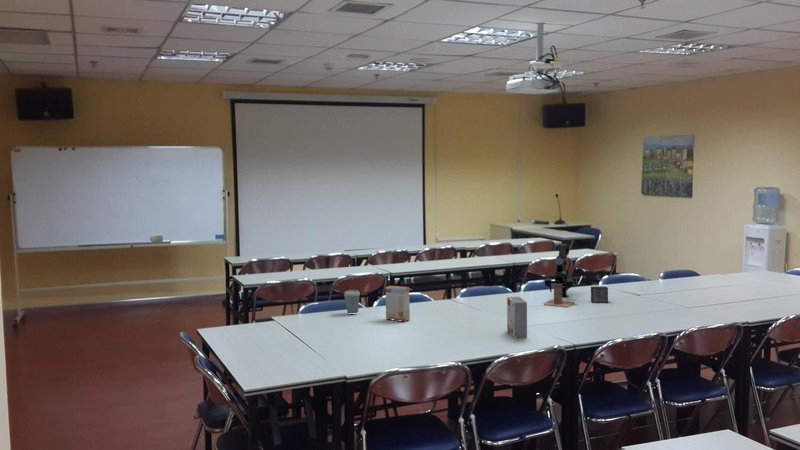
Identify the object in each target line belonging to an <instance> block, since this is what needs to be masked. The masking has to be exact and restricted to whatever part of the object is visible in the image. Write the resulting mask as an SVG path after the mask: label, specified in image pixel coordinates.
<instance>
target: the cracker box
mask: <svg viewBox="0 0 800 450" xmlns="http://www.w3.org/2000/svg"><path fill="white" fill-rule="evenodd" d="M386 318H387V319H394V320H401V321H406V322H408V321H407V320H409V319H410V318H411V315H410V287H409V286H399V285H388V286H385V319H386ZM410 320H411V319H410ZM410 320H409V321H410ZM401 321H400V322H401Z"/></svg>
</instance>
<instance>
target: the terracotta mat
mask: <svg viewBox="0 0 800 450" xmlns="http://www.w3.org/2000/svg"><path fill="white" fill-rule="evenodd" d="M574 304H575V301H573V300H562V304H554V299H550V300H548V301H547V302H545V303H543V306H548V307H557V308H558V307H559V308H569V307H571V306H573V305H574Z"/></svg>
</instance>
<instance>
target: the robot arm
mask: <svg viewBox="0 0 800 450" xmlns="http://www.w3.org/2000/svg"><path fill="white" fill-rule="evenodd" d="M557 250H558V255H557V256H556V259H554V265H555V272H554V279H552V278H549V277H545V278H544V285H545V286H546V287H548V289H549V291H550V293H552V290H553V289H552V284H562V298H567V297H568V296H569V294H567V292H568V290H569V289H571V288H573V287H574V279H573V278H568V275H567V265H568V260H567V257H568V256H569V254H570V251H571V245H570V244H568V243H559V244H557Z"/></svg>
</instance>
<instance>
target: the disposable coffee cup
mask: <svg viewBox="0 0 800 450" xmlns="http://www.w3.org/2000/svg"><path fill="white" fill-rule="evenodd" d="M360 295H361V292H360V291H359V290H357V289H349V290H346V291H344V293H343V296H344V302H345V308H346V311H347V314H348V313H357V312H358V313H359V305H360V298H361V296H360Z"/></svg>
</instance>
